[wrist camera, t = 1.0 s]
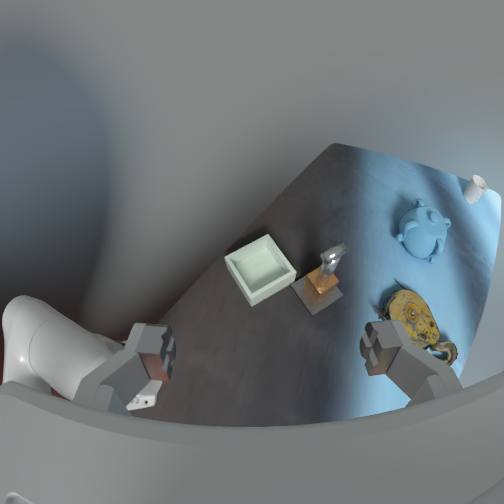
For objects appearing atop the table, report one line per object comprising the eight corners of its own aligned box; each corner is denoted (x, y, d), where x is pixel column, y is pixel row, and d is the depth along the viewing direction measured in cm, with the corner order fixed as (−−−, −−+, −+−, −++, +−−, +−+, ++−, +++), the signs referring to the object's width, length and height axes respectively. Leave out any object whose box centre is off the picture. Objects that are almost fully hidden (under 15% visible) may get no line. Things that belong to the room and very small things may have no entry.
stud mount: (312, 317, 68) (317, 308, 61) (290, 286, 72) (293, 274, 66) (342, 296, 70) (350, 286, 64) (320, 267, 75) (325, 254, 68)
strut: (314, 304, 68) (333, 268, 50) (302, 286, 71) (315, 245, 52) (332, 292, 70) (355, 254, 51) (319, 276, 72) (337, 233, 54)
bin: (251, 306, 70) (250, 299, 65) (227, 267, 76) (224, 257, 71) (294, 281, 73) (296, 272, 68) (267, 245, 79) (268, 233, 73)
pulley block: (448, 381, 50) (376, 303, 62) (435, 386, 55) (366, 312, 67) (467, 343, 56) (402, 272, 68) (455, 350, 61) (393, 282, 73)
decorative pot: (442, 241, 77) (462, 218, 65) (425, 273, 72) (448, 251, 60) (407, 212, 83) (422, 185, 71) (386, 240, 78) (403, 214, 66)
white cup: (477, 207, 83) (489, 192, 75) (464, 203, 85) (476, 187, 76) (473, 193, 87) (483, 177, 78) (460, 188, 88) (470, 172, 79)
